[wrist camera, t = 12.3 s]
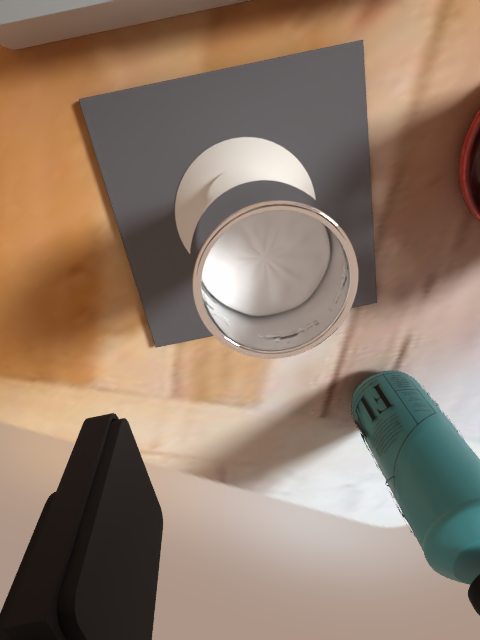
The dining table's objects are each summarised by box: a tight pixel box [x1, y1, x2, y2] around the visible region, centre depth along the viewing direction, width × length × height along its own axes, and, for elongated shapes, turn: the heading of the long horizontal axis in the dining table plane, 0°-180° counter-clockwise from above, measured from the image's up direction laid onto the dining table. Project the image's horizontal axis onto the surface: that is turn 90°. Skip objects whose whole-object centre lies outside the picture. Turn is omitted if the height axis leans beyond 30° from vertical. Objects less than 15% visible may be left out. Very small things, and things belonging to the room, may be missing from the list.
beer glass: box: [190, 167, 358, 359], centre depth 24 cm, size 7×7×15 cm
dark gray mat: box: [79, 40, 377, 347], centre depth 31 cm, size 18×18×1 cm
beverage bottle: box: [351, 371, 480, 615], centre depth 30 cm, size 6×7×20 cm
